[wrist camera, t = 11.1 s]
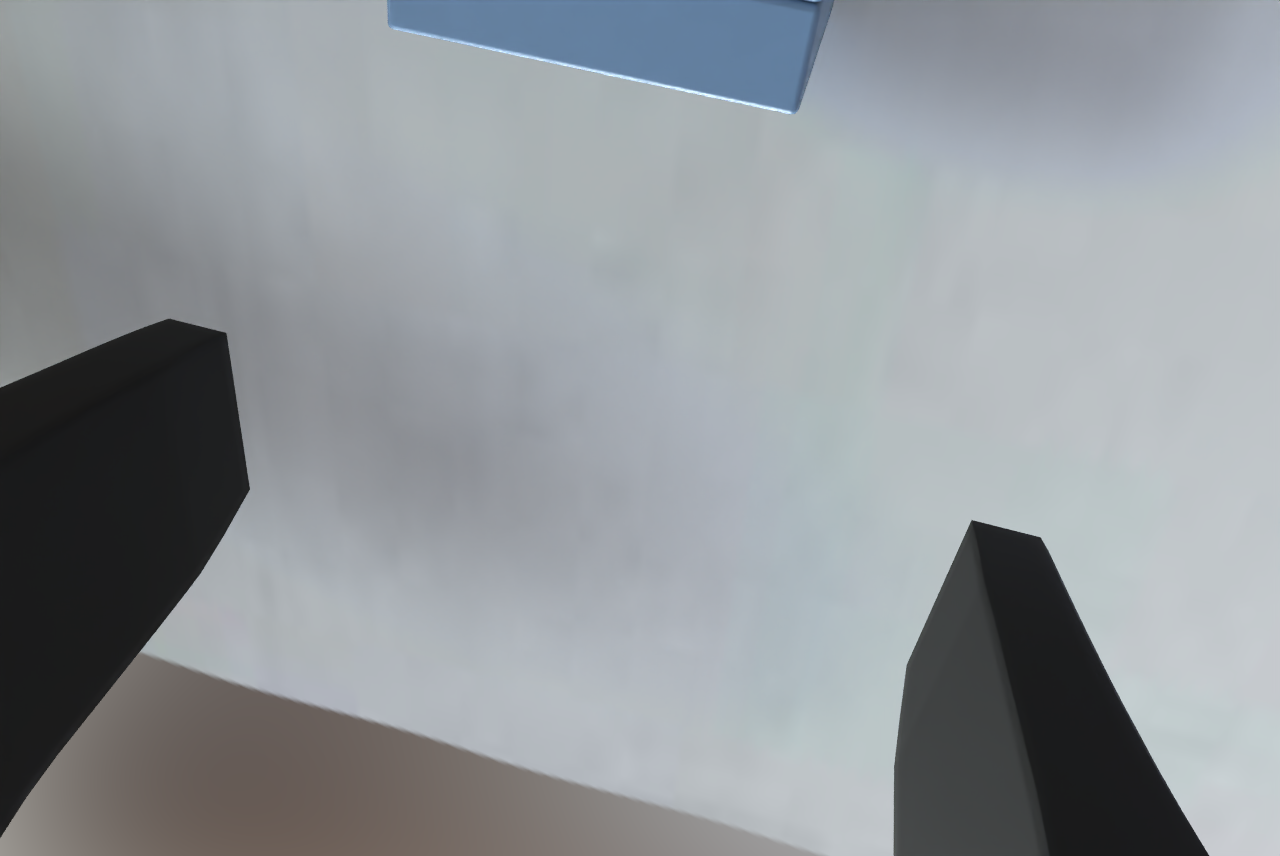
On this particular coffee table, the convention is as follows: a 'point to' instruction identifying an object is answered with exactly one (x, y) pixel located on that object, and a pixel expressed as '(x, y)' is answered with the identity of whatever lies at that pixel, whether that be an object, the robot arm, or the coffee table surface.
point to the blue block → (646, 40)
